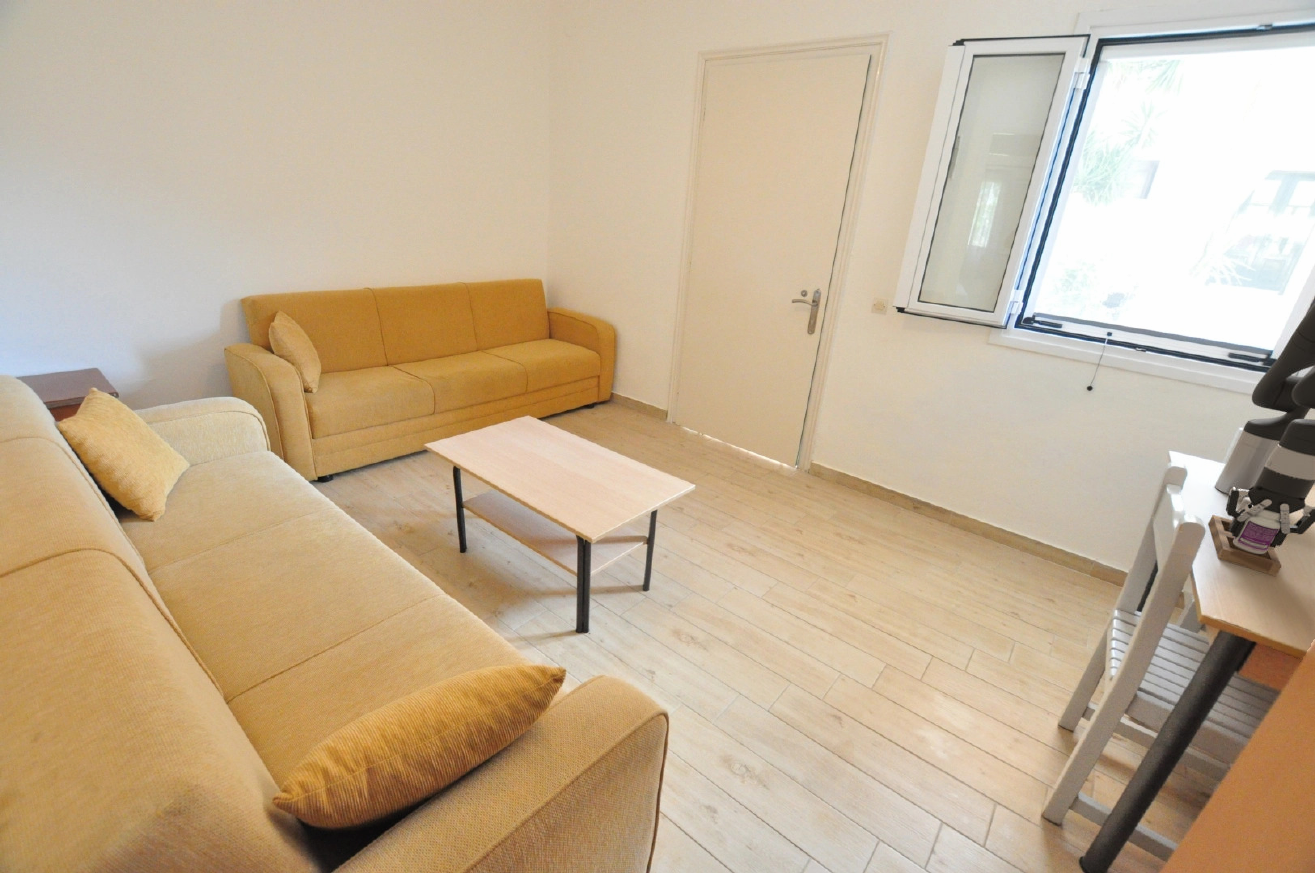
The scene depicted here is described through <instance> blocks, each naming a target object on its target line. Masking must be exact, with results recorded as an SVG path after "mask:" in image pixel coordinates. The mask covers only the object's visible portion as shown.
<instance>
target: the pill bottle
mask: <svg viewBox="0 0 1315 873" xmlns="http://www.w3.org/2000/svg"><path fill="white" fill-rule="evenodd" d="M1280 518H1281V517H1280V514H1279V513H1276V512H1272V511H1268V510H1264V509H1262V510H1261V511H1259V512H1258V513H1256V514H1255V515H1253V516H1250V517H1249V518H1247V519H1246V520H1245V521H1244V523H1245V524H1244V525H1243V527H1242V529H1241V531H1240V533H1239V535H1238V536H1237V537H1235V538H1234V540H1233V543H1234V545H1235V546H1237V547H1238V548H1240V549H1242V550H1245V551H1248V552H1251V553H1255V554H1264V553H1266V552H1267V550H1268V548H1269V546H1270V545H1271V543H1272V541H1273V540H1274V538H1275V536H1276V534H1277V533H1278V531H1279V529H1280V527H1281V524H1280V522H1279V519H1280Z"/></svg>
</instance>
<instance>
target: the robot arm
mask: <svg viewBox="0 0 1315 873" xmlns="http://www.w3.org/2000/svg"><path fill="white" fill-rule="evenodd" d="M1309 368H1310V370H1309V371H1308V372H1307V373H1306V374H1305V375H1304V376H1297V375H1294V374H1295V373H1298V372H1301V371H1303V370H1306V369H1309ZM1251 401H1252V403H1253V404H1254V406H1257V407H1259V408H1263V409H1269V410H1272V411H1278V412H1283V413H1285V414H1283V415H1280V416H1276V417H1269V418H1253V419H1252V418H1251V419H1249V420H1247V422H1246V423H1245V425H1244V427H1243V429H1242V431H1241V433H1240V435H1239V436H1238V439H1237V441H1236V443H1235V445H1234V447H1233V449H1232V451H1231V453H1230V454H1229V456H1228V459H1227V461H1226V463H1225V465H1224V466H1223V468H1222V471H1221V473H1220V474H1219V476H1218V478H1217V480H1216V482H1215V484H1214V487H1215V489H1216V490H1219V491H1220V492H1222V493H1224V494H1227V495H1228V497H1227V502H1226V507H1225V511H1226V514H1227V515H1228V516H1229V517H1232V518H1233V517H1234V520H1233V522H1232V524H1231V526H1230V528H1229V529H1230V533H1231V534H1232V536H1235V537H1237V536H1238V535H1239V533H1240V531H1241V529H1242V527H1243V525H1244V524H1245V523H1244V521H1245V520H1246V519H1247V518H1249V517H1250V516H1253V515H1255V514H1256V513H1258V512H1259V511H1261V510H1262V509H1264V510H1268V511H1272V512H1276V513H1279V514H1280V517H1281V518H1280V519H1279V520H1278V521H1279V522H1280V524H1281V527H1280V529H1279V531H1278V533H1277V534H1276V536H1275V538H1274V540H1273V541H1272V543H1271V545H1270V547H1273V549H1275V548H1276V547H1280V546H1282V545H1283V543H1284V541H1285V540H1286V538H1287V536H1288V535H1289V534H1297V535H1303V534H1304V533H1305V532H1306V531H1307V530H1309V528H1310V527H1311V526H1312V525H1314V524H1315V506H1311V505H1309V504H1306V498H1307V497H1308V495H1309V494H1310V492H1311V490H1312V488H1313V487H1314V485H1315V419H1314V418H1313V419H1311V418H1310V419H1308V418H1306V416H1307V414H1308V413H1309V412H1310V410H1311V409H1313V410H1315V302H1314V303H1313V305H1312V306H1311V308H1309V310H1308V311H1307V313H1306V314H1305V315H1304V317H1303V319H1302V320H1301V321H1300V322H1299V324H1298V325H1297V327H1296V328H1295V330H1294V331H1293V334H1292V335H1291V336H1290V338H1289V340H1288V342H1287V343H1286V345H1285V347H1284V348H1283V350H1282V352H1281V353H1280V355H1279V356H1278V357H1277V359H1276V360H1275V362H1274V363H1272V364H1271V366H1270V367H1269V368H1268V370H1267V371H1266V373H1265V374H1264V375H1263V376H1262V377H1261V379H1260V380H1259V381H1258V383H1257V384H1256V386H1255V387H1254V390H1253V391H1252V395H1251ZM1245 497H1249V498H1250V501H1251V502H1250V503H1248V504H1247V505H1246V506H1244V508H1243V509H1241V510H1240V511H1239V512H1238V511H1237V507H1238V502H1239V500H1243V499H1244V498H1245ZM1301 510H1302V516H1301V517H1300V518H1299V519H1298V520H1297V521H1296V522H1295V523H1294V524H1292V525H1291V523H1290V522H1291V521H1290V518H1291V517H1290V515H1291V514H1293V513H1297V512H1298V511H1301Z"/></svg>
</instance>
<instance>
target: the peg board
mask: <svg viewBox="0 0 1315 873" xmlns="http://www.w3.org/2000/svg"><path fill="white" fill-rule="evenodd" d="M1250 502H1251V501H1250V498H1249V497H1245V498H1244V499H1243V498H1242V499H1241V502H1240V503H1239V504H1240V505H1239V507H1238V508H1237V509H1236V511H1238V512H1239V511H1240V510H1241V509H1243V508H1244V506H1246V505H1247V504H1248V503H1250ZM1233 520H1234V517H1232V519H1230V518H1229V519H1228V518H1227V517H1222V516H1218V515H1215V514H1212V516H1211V517H1210V520H1209V521H1208V523H1207V524H1208V527H1209V530H1210V535H1211V538H1212V541H1213V545H1214V548H1215V552H1216V556H1217V559H1218V560H1221V561H1225V562H1228V563H1230V564H1231V563H1232V564H1235V565H1238V566H1241V567H1244V568H1248V569H1251V570H1254V571H1257V572H1261V573H1264V574H1267V575H1269V576H1270V575H1271V576H1274V577H1277V575H1278V574H1279V572H1280V570H1281V569H1282V566H1283V565H1282V563H1281V562H1280V560H1279V557H1278V555H1277V553H1276V551H1275V548H1274V547H1270V546H1269V548H1268V550H1267V552H1266V553H1264V554H1255V553H1251V552H1248V551H1245V550H1242V549H1240V548H1238V547H1237V546H1235V545H1234V543H1233V540H1234V538H1235V536H1232V534H1231V533H1230V529H1229V528H1230V526H1231V524H1232V522H1233Z"/></svg>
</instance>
